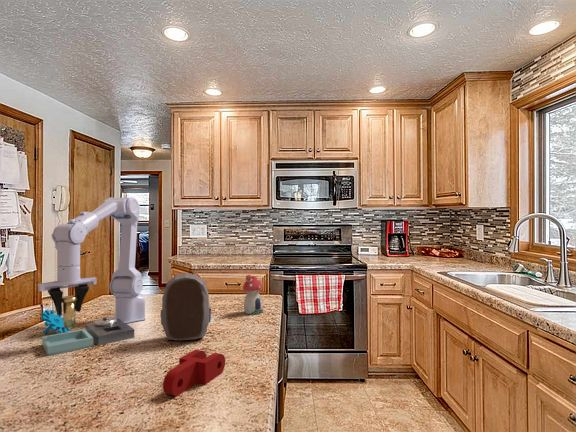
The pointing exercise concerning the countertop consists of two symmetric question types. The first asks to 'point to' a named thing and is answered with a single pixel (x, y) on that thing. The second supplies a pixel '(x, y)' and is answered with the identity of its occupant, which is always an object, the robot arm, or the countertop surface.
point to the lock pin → (69, 311)
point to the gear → (53, 322)
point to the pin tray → (66, 342)
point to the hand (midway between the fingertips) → (68, 312)
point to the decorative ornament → (252, 295)
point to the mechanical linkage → (193, 371)
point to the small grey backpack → (185, 308)
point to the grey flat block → (109, 330)
